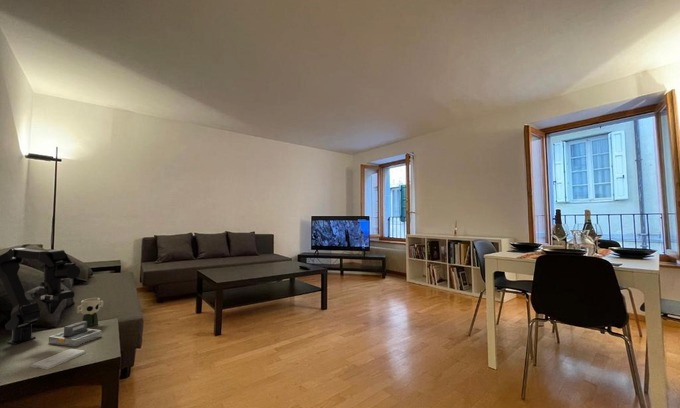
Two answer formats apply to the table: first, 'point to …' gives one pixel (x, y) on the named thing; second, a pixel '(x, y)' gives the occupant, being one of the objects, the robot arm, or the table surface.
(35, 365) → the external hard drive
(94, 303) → the toy figurine
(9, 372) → the table surface
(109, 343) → the table surface
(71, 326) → the dark grey block
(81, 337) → the rack
